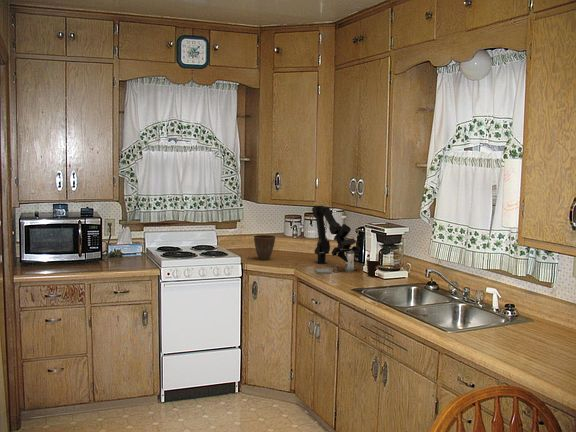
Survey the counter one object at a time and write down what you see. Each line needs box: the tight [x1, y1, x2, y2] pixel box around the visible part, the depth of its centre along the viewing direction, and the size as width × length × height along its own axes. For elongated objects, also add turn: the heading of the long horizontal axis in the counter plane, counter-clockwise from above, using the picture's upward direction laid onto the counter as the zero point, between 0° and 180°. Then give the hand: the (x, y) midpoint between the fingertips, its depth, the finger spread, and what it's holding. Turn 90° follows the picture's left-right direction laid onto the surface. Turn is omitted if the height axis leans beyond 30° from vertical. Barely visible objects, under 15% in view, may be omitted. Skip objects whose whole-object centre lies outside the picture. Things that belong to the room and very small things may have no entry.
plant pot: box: [253, 234, 276, 261], centre depth 412 cm, size 15×15×16 cm
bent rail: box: [332, 264, 341, 274], centre depth 376 cm, size 12×4×3 cm, turn 7°
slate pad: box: [314, 268, 333, 275], centre depth 372 cm, size 9×9×1 cm
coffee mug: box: [366, 258, 381, 278], centre depth 363 cm, size 12×9×10 cm
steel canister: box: [344, 250, 355, 273], centre depth 375 cm, size 5×5×13 cm
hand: (350, 261), depth 374 cm, fingers closed on steel canister, 5 cm apart
